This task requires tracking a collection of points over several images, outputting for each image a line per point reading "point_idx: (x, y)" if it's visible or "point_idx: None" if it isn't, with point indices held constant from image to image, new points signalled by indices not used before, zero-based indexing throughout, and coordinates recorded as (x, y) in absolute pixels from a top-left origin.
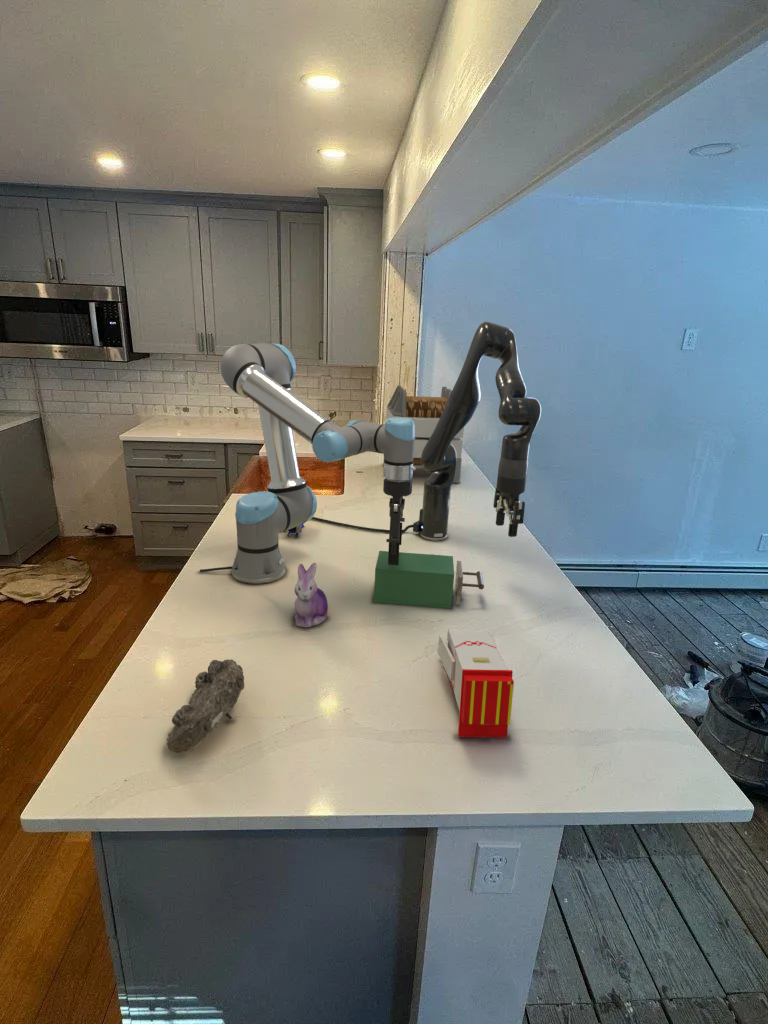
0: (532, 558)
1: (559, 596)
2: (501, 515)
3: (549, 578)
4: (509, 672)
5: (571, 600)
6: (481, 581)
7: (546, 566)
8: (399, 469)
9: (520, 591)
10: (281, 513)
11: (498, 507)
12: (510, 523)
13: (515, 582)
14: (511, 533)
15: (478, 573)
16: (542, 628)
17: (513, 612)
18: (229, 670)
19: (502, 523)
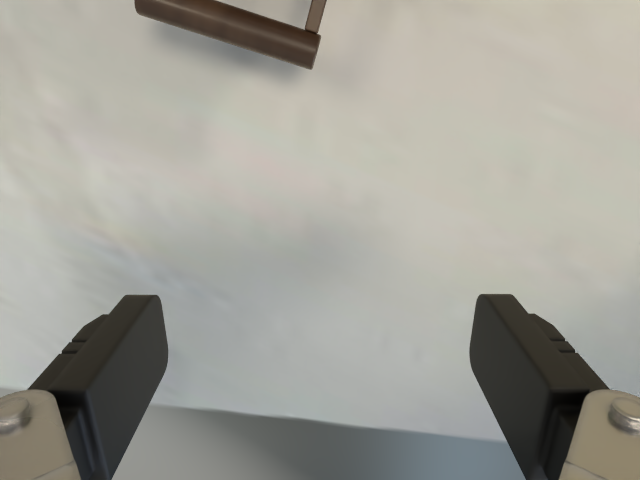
0: None
1: (257, 373)
2: (522, 414)
3: (397, 401)
4: None
5: (226, 396)
6: (174, 10)
7: (492, 432)
8: None
9: (311, 258)
10: None
11: (562, 475)
12: (26, 395)
13: (390, 270)
14: (95, 328)
15: (288, 36)
16: (20, 215)
17: (139, 156)
18: None
19: (477, 361)
